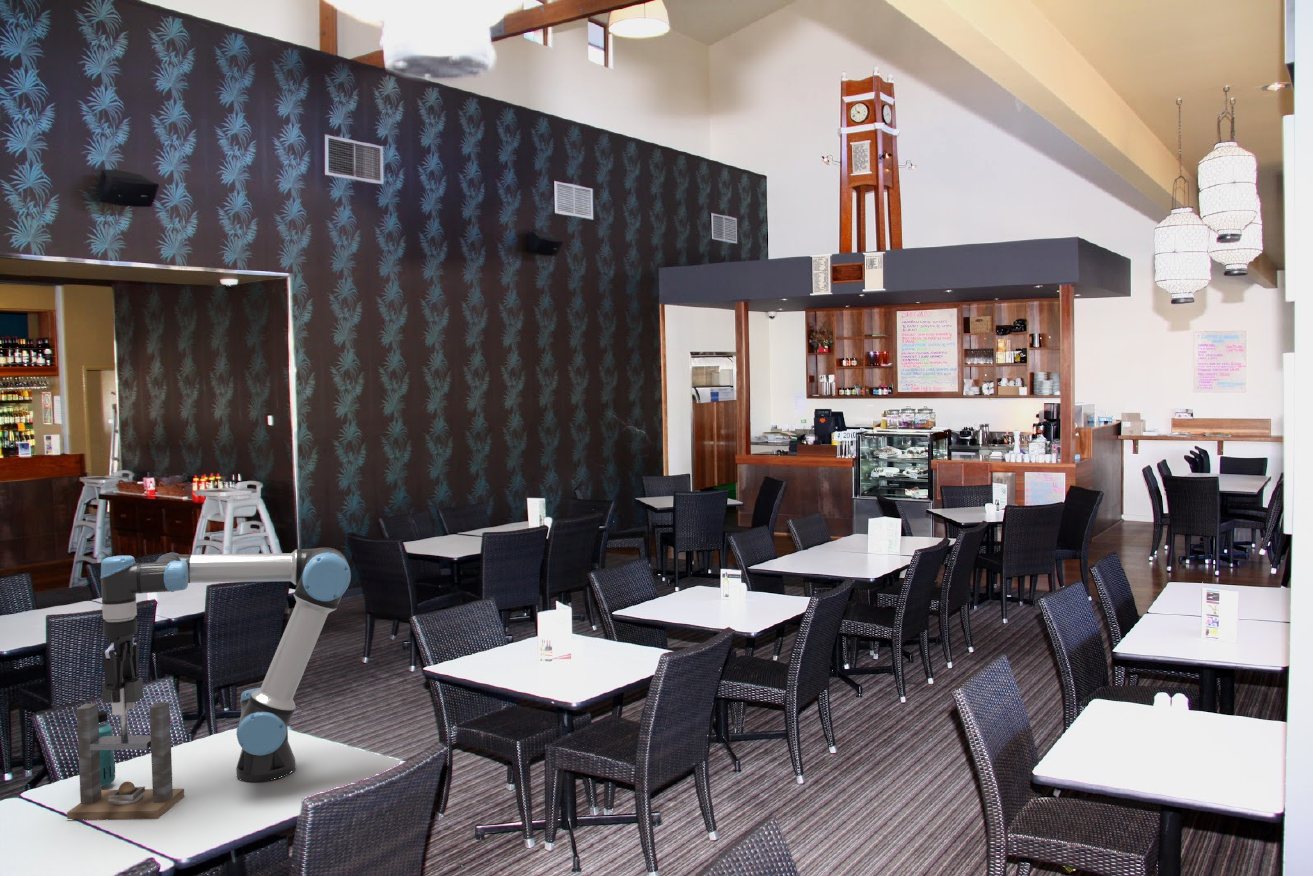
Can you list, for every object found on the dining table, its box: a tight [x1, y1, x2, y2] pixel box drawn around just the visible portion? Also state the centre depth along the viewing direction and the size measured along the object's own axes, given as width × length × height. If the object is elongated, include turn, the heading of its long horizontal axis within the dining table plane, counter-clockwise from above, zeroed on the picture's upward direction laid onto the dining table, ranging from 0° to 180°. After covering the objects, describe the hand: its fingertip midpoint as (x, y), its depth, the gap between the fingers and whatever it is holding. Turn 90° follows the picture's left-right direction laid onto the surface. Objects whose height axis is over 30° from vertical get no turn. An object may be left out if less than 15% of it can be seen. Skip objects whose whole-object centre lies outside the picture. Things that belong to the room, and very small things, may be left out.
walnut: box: [118, 781, 136, 795], centre depth 254 cm, size 4×4×4 cm
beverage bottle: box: [98, 711, 116, 787], centre depth 267 cm, size 6×7×20 cm
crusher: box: [90, 677, 151, 751], centre depth 253 cm, size 14×6×16 cm, turn 90°
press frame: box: [66, 701, 185, 821], centre depth 253 cm, size 22×14×26 cm, turn 90°
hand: (123, 711), depth 253 cm, fingers closed on crusher, 4 cm apart
